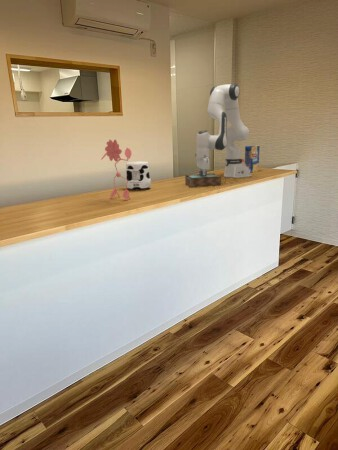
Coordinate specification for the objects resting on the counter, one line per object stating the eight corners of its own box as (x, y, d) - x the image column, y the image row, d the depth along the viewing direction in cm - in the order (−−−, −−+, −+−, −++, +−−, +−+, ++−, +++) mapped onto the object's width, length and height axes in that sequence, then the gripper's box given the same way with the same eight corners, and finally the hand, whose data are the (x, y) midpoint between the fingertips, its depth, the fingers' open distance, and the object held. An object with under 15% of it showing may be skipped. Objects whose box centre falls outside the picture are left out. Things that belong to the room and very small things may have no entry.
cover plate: (212, 175, 241) (212, 169, 240) (217, 178, 230) (217, 171, 228) (188, 177, 238) (188, 170, 236) (192, 179, 226) (192, 173, 225)
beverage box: (258, 171, 290) (259, 145, 284) (250, 172, 284) (251, 146, 277) (251, 170, 295) (253, 145, 289) (244, 172, 289) (245, 146, 282)
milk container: (143, 185, 238) (142, 160, 233) (156, 189, 224) (155, 162, 219) (121, 188, 229) (120, 162, 224) (133, 192, 215) (131, 164, 210)
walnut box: (214, 182, 244) (214, 173, 242) (221, 185, 230) (221, 176, 228) (185, 184, 240) (185, 175, 238) (190, 187, 226) (190, 178, 224)
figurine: (111, 195, 208) (105, 138, 197) (141, 200, 192) (137, 138, 181) (92, 200, 196) (85, 140, 185) (122, 206, 181) (116, 140, 170)
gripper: (212, 156, 220) (211, 176, 224) (202, 153, 239) (202, 172, 243) (203, 156, 219) (203, 177, 223) (194, 154, 238) (194, 173, 242)
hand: (202, 174), depth 233 cm, fingers closed on cover plate, 2 cm apart
